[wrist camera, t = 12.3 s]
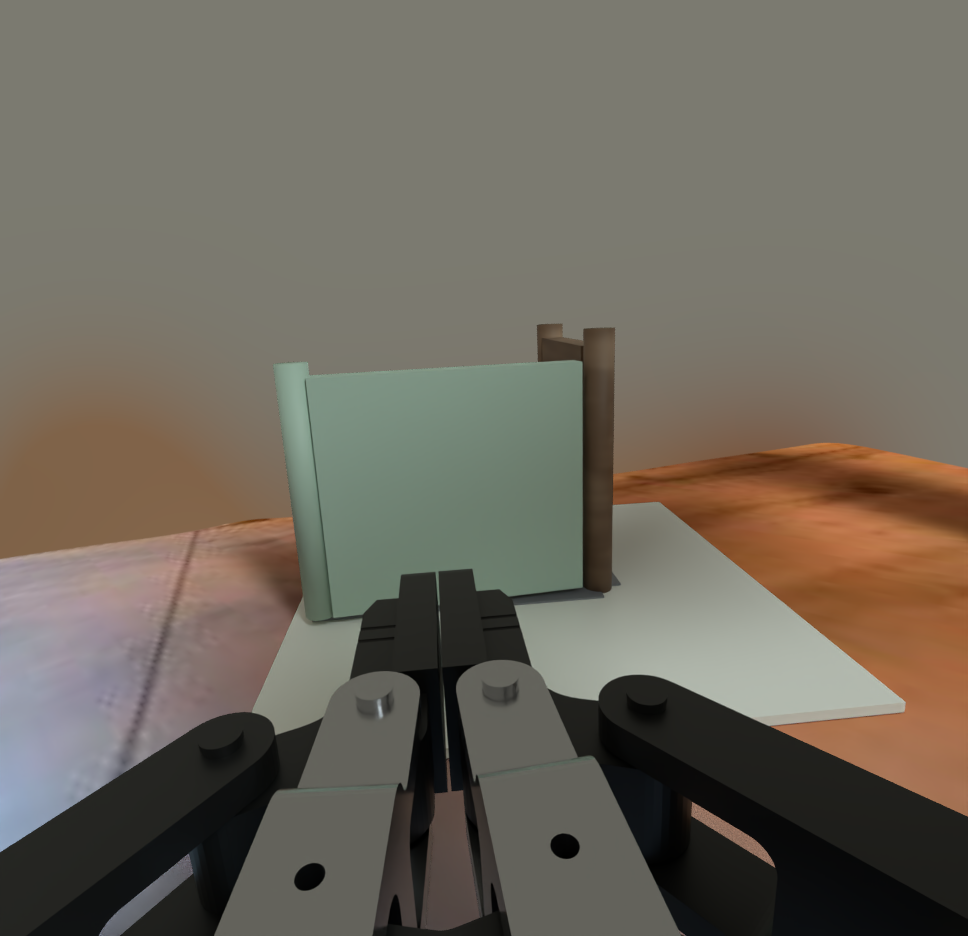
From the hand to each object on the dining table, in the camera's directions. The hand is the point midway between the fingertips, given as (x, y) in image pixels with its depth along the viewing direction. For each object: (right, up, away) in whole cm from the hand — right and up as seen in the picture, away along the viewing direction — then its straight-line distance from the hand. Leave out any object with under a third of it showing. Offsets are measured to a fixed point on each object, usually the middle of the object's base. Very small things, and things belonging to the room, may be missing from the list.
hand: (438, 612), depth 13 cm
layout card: (+3, -3, +19) cm, 19 cm away
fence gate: (-1, -3, +16) cm, 17 cm away
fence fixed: (+6, -2, +23) cm, 24 cm away
